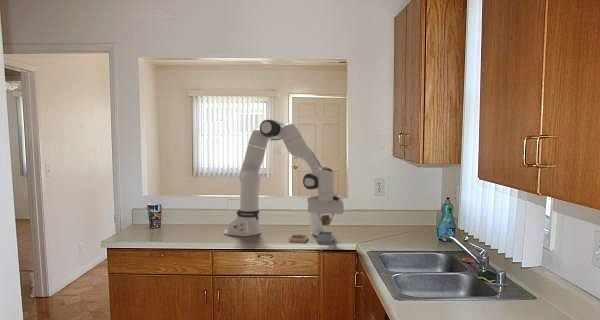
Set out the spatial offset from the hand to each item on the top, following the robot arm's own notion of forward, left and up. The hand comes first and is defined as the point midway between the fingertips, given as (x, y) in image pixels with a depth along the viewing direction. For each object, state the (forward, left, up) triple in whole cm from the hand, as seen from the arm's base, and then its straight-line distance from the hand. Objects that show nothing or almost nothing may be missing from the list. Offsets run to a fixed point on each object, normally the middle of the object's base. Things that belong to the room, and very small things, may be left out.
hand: (325, 221), depth 236 cm
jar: (-7, +17, -12) cm, 22 cm away
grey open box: (0, 0, -12) cm, 12 cm away
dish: (-15, -1, -12) cm, 19 cm away
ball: (-15, -1, -11) cm, 19 cm away
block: (0, 0, -2) cm, 2 cm away
